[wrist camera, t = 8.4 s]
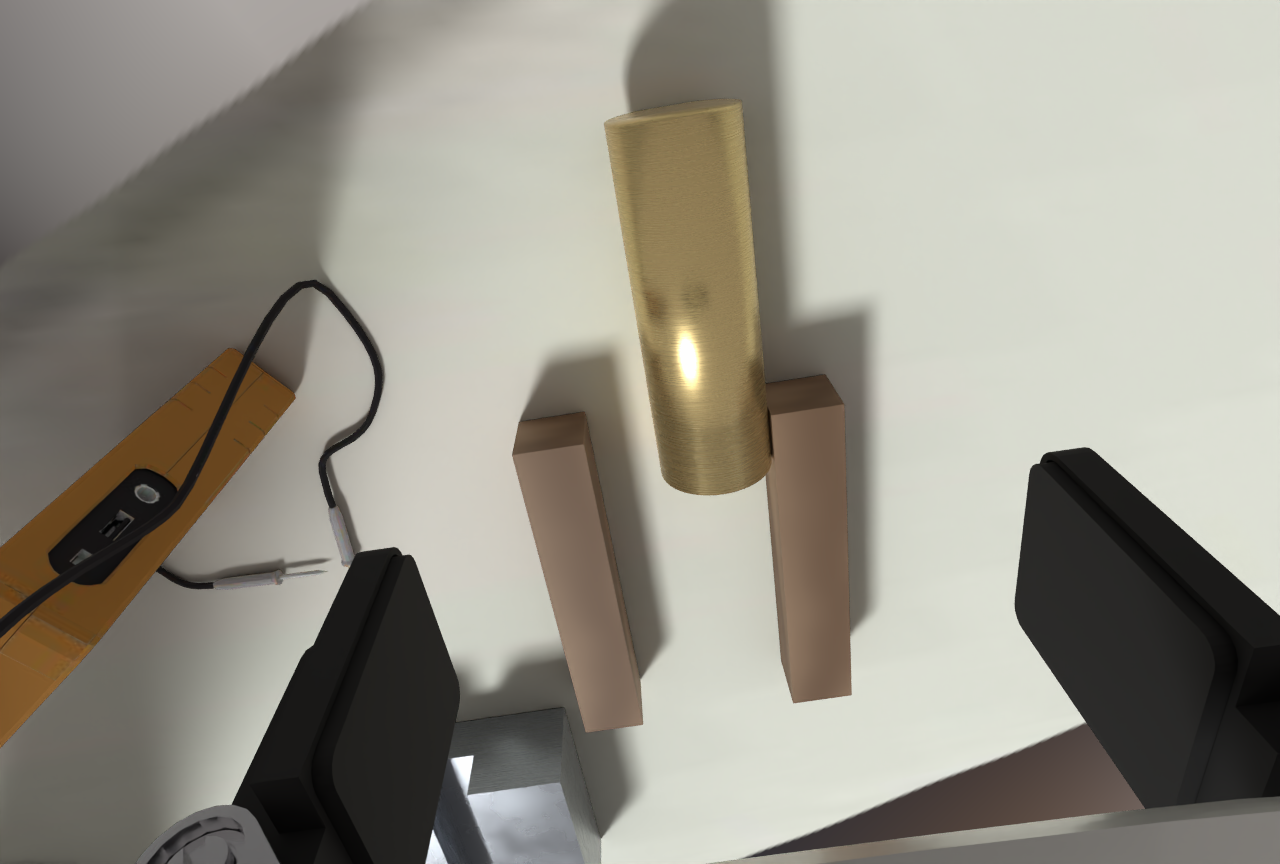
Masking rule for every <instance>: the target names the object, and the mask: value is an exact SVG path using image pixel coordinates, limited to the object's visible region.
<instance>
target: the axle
mask: <svg viewBox="0 0 1280 864" xmlns="http://www.w3.org/2000/svg"><path fill="white" fill-rule="evenodd" d="M604 126H605V133H606V139H607V145H608V151H609V157H610V163H611V169H612V175H613V181H614V187H615V193H616V199H617V205H618V211H619V218H620V224H621V230H622V236H623V242H624V248H625V254H626V260H627V266H628V272H629V278H630V284H631V290H632V297H633V303H634V309H635V315H636V321H637V327H638V333H639V339H640V345H641V351H642V357H643V363H644V369H645V375H646V382H647V388H648V394H649V400H650V406H651V412H652V418H653V424H654V430H655V436H656V442H657V448H658V454H659V461H660V467H661V473H662V476H663V478H664V480H665V481H666V482H667V483H668V484H669V485H670V486H672V487H673V488H675V489H677V490H680V491H682V492H686V493H690V494H696V495H720V494H727V493H732V492H735V491H739V490H742V489H745V488H747V487H749V486H751V485H753V484H755V483H756V482H758V481H759V480H761V479H762V478H763V477H764V476H765V475H766V474H767V473H768V471H769V469H770V467H771V464H772V458H771V446H770V434H769V422H768V410H767V398H766V386H765V374H764V362H763V350H762V338H761V326H760V314H759V302H758V290H757V278H756V266H755V254H754V242H753V230H752V218H751V206H750V194H749V182H748V170H747V158H746V146H745V134H744V122H743V110H742V101H741V100H739V99H711V100H701V101H692V102H687V103H681V104H675V105H669V106H663V107H657V108H652V109H646V110H640V111H636V112H632V113H628V114H624V115H621V116H617V117H615V118H612V119H609V120H607V121H606V122H605V123H604Z"/></svg>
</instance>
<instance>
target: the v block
mask: <svg viewBox="0 0 1280 864" xmlns="http://www.w3.org/2000/svg"><path fill="white" fill-rule="evenodd" d="M426 864H601V838H600V834H599V831H598V827H597V823H596V820H595V816H594V813H593V809H592V805H591V802H590V798H589V795H588V791H587V788H586V784H585V780H584V777H583V773H582V770H581V766H580V762H579V759H578V755H577V752H576V748H575V744H574V741H573V737H572V734H571V730H570V726H569V723H568V719H567V716H566V712H565V708H564V707H563V708H556V709H549V710H542V711H535V712H528V713H521V714H514V715H507V716H500V717H493V718H486V719H479V720H472V721H465V722H458V723H455V726H454V731H453V736H452V741H451V745H450V750H449V755H448V760H447V764H446V769H445V774H444V778H443V783H442V788H441V793H440V797H439V802H438V807H437V812H436V816H435V821H434V826H433V830H432V835H431V840H430V845H429V849H428V854H427V859H426Z"/></svg>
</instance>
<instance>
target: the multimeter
mask: <svg viewBox="0 0 1280 864" xmlns="http://www.w3.org/2000/svg"><path fill="white" fill-rule="evenodd" d="M309 287H314V288H315V289H317V290H318V291H320V292H321V293H323V294H324V295H326V296H327V297H328V298H329V300H330V301H331V302H332V303H333V304H334V305H335V307H336V308H337V309H338V310H339V311H340V313H341V314H342V315H343V316H344V318H345V319H346V320H347V322H348V323H349V324H350V325H351V327H352V328H353V329H354V331H355V332H356V334H357V335H358V337H359V339H360V340H361V342H362V343H363V345H364V347H365V349H366V351H367V353H368V355H369V357H370V359H371V362H372V365H373V368H374V374H375V390H374V397H373V400H372V404H371V408H370V411H369V414H368V416H367V418H366V421H365V422H364V423H363V425H362V426H361V427H360V428H359V429H358V430H357V431H356V432H354V433H353V434H352V435H350V436H349V437H347V438H345V439H344V440H342V441H340V442H338V443H337V444H335V445H333V446H332V447H330V448H329V449H328V450H326V451H325V452H324V454H323V455H322V456H321V458H320V461H319V464H318V466H319V475H320V479H321V483H322V486H323V490H324V494H325V497H326V500H327V502H328V505H329V517H330V522H331V525H332V528H333V532H334V535H335V538H336V541H337V545H338V548H339V551H340V554H341V558H342V562H341V563H342V565H343V566H346V567H350V565H351V563H352V561H353V559H354V557H355V556H354V553H353V550H352V546H351V543H350V539H349V536H348V533H347V529H346V526H345V523H344V519H343V516H342V514H341V512H340V510H339V508H338V506H337V505H336V504H335V501H334V498H333V495H332V492H331V489H330V485H329V481H328V477H327V473H326V461H327V459H328V458H329V456H331V455H332V454H333V453H335V452H336V451H338V450H340V449H341V448H343V447H345V446H347V445H348V444H350V443H352V442H354V441H355V440H356V439H358V438H359V437H360V436H361V435H362V434H363V433H365V431H366V430H367V429H368V427H369V426H370V425H371V423H372V421H373V419H374V416H375V414H376V412H377V408H378V404H379V401H380V397H381V391H382V371H381V366H380V363H379V360H378V357H377V354H376V352H375V350H374V348H373V346H372V344H371V342H370V340H369V339H368V337H367V336H366V334H365V332H364V331H363V329H362V328H361V326H360V325H359V324H358V322H357V321H356V320H355V318H354V317H353V316H352V314H351V313H350V312H349V310H348V309H347V308H346V307H345V306H344V304H343V303H342V302H341V301H340V300H339V299H338V297H337V296H336V295H335V294H334V293H333V291H332V290H330V289H329V288H327V287H326V286H324V285H323V284H321V283H320V282H318V281H317V280H310V281H303V282H298V283H296V284H294V285H293V286H292V287H291V288H290V289H288V290H287V291H286V292H285V293H284V294H282V295H281V296H280V297H279V299H278V300H277V302H276V303H275V304H274V306H273V307H272V308H271V310H270V311H269V313H268V314H267V315H266V317H265V318H264V320H263V322H262V323H261V325H260V327H259V329H258V330H257V332H256V334H255V336H254V338H253V339H252V341H251V343H250V345H249V346H248V348H247V350H246V352H245V354H244V355H242V354H241V353H240V352H238V351H237V350H236V349H232V348H228V349H227V350H226V351H225V352H224V353H222V354H221V355H220V356H219V357H218V358H217V359H216V360H214V361H213V362H212V363H211V364H210V365H209V366H208V367H207V368H205V369H204V370H203V371H202V372H201V373H199V374H198V375H197V376H196V377H195V378H194V379H193V380H191V381H190V382H189V383H188V384H187V385H186V386H185V387H183V388H182V389H181V390H180V391H179V392H178V393H177V394H175V395H174V396H173V397H172V398H171V399H170V400H168V401H167V402H166V403H165V404H164V405H163V406H162V407H160V408H159V409H158V410H157V411H156V412H155V413H154V414H152V415H151V416H150V417H149V418H148V419H147V420H146V421H144V422H143V423H142V424H141V425H140V426H139V427H137V428H136V429H135V430H134V431H133V432H132V433H131V434H129V435H128V436H127V437H126V438H125V439H124V440H123V441H121V442H120V443H119V444H118V445H117V446H116V447H115V448H113V449H112V450H111V451H110V452H109V453H108V454H107V455H105V456H104V457H103V458H102V459H101V460H100V461H99V462H97V463H96V464H95V465H94V466H93V467H92V468H91V469H90V470H88V471H87V472H86V473H85V474H84V475H83V476H82V477H80V478H79V479H78V480H77V481H76V482H75V483H74V484H72V485H71V486H70V487H69V488H68V489H67V490H66V491H64V492H63V493H62V494H61V495H60V496H59V497H58V498H56V499H55V500H54V501H53V502H52V503H51V504H50V505H48V506H47V507H46V508H45V509H44V510H43V511H42V512H40V513H39V514H38V515H37V516H36V517H35V518H34V519H32V520H31V521H30V522H29V523H28V524H27V525H26V526H24V527H23V528H22V529H21V530H20V531H19V532H18V533H16V534H15V535H14V536H13V537H12V538H11V539H10V540H8V541H7V542H6V543H5V544H4V545H3V546H2V547H0V748H1V747H2V746H3V745H4V744H5V742H6V741H7V740H8V739H9V738H10V737H11V736H12V735H13V734H14V733H15V732H16V731H17V730H18V729H19V727H20V726H21V725H22V724H23V723H24V722H25V721H26V720H27V719H28V718H29V717H30V716H31V715H32V713H33V712H34V711H35V710H36V709H37V708H38V707H39V706H40V705H41V704H42V703H43V702H44V701H45V699H46V698H47V697H48V696H49V695H50V694H51V693H52V692H53V691H54V690H55V689H56V688H57V687H58V686H59V684H60V683H61V682H62V681H63V680H64V679H65V678H66V677H67V676H68V675H69V674H70V673H71V672H72V671H73V670H74V669H75V667H76V666H77V665H78V664H79V663H80V662H81V661H82V660H83V659H84V658H85V656H86V655H87V654H88V653H89V652H90V651H91V650H92V649H93V647H94V646H95V645H96V644H97V643H98V642H99V640H100V639H101V638H102V637H103V635H104V634H105V633H106V632H107V631H108V629H109V628H110V627H111V626H112V624H113V623H114V622H115V621H116V619H117V618H118V617H119V616H120V615H121V613H122V612H123V611H124V610H125V608H126V607H127V606H128V605H129V603H130V602H131V601H132V600H133V598H134V597H135V596H136V595H137V594H138V592H139V591H140V590H141V589H142V587H143V586H144V585H145V584H146V582H147V581H148V580H149V579H150V577H151V576H152V575H153V574H154V573H155V571H156V572H158V573H160V574H161V575H163V576H164V577H166V578H167V579H169V580H171V581H172V582H174V583H176V584H178V585H180V586H183V587H186V588H191V589H213V588H215V589H227V590H228V589H237V588H245V587H253V586H261V585H269V584H276V585H280V584H282V582H283V579H289V578H297V577H305V576H313V575H319V574H322V573H325V572H328V571H321V570H315V571H307V572H300V573H292V574H284V575H283V574H282V572H281V570H276V571H275V572H270V573H262V574H254V575H246V576H238V577H229V578H224V579H220V580H217V581H215V582H208V583H194V582H188V581H185V580H182V579H180V578H178V577H176V576H174V575H173V574H171V573H170V572H168V571H167V570H165V569H164V568H162V567H161V566H160V565H161V564H162V563H163V561H164V560H165V559H166V558H167V557H168V555H169V554H170V553H171V552H172V550H173V549H174V548H175V547H176V545H177V544H178V543H179V542H180V540H181V539H182V538H183V537H184V536H185V534H186V533H187V532H188V531H189V529H190V528H191V527H192V526H193V524H194V523H195V522H196V521H197V520H198V518H199V517H200V516H201V515H202V513H203V512H204V511H205V510H206V508H207V507H208V506H209V505H210V503H211V502H212V501H213V500H214V499H215V497H216V496H217V495H218V494H219V492H220V491H221V490H222V489H223V487H224V486H225V485H226V484H227V483H228V481H229V480H230V479H231V478H232V476H233V475H234V474H235V473H236V471H237V470H238V469H239V468H240V466H241V465H242V464H243V463H244V462H245V460H246V459H247V458H248V457H249V455H250V454H251V453H252V452H253V450H254V449H255V448H256V447H257V445H258V444H259V443H260V442H261V440H262V439H263V438H264V437H265V435H266V434H267V433H268V432H269V431H270V429H271V428H272V427H273V426H274V424H275V423H276V422H277V421H278V419H279V418H280V417H281V416H282V415H283V413H284V412H285V411H286V410H287V408H288V407H289V406H290V405H291V403H292V402H293V401H294V400H295V398H296V397H295V394H294V393H293V392H292V391H291V390H289V389H288V388H287V387H285V386H284V385H283V384H281V383H280V382H279V381H277V380H276V379H275V378H273V377H272V376H270V375H269V374H268V373H266V372H264V370H262V369H261V368H260V367H258V366H257V365H256V364H254V363H253V362H252V360H253V358H254V356H255V354H256V352H257V350H258V348H259V346H260V344H261V343H262V341H263V339H264V337H265V335H266V334H267V332H268V330H269V328H270V326H271V325H272V323H273V321H274V320H275V318H276V317H277V316H278V314H279V313H280V311H281V310H282V309H283V307H284V306H285V304H286V303H287V302H288V300H290V299H291V298H292V297H293V296H294V295H295V294H297V293H298V292H299V291H300V290H301V289H304V288H309Z"/></svg>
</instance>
